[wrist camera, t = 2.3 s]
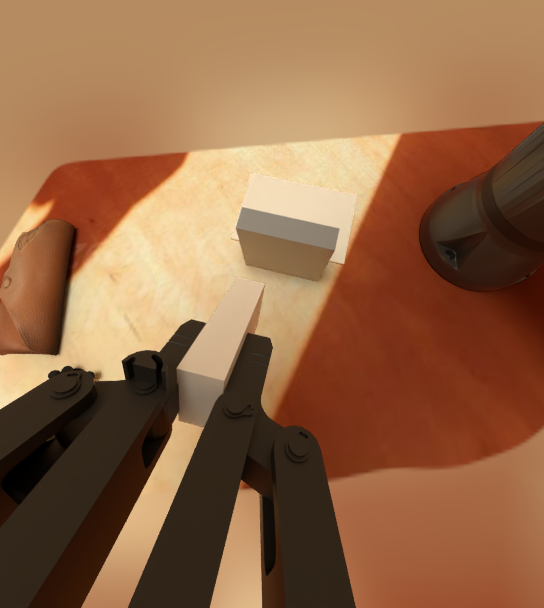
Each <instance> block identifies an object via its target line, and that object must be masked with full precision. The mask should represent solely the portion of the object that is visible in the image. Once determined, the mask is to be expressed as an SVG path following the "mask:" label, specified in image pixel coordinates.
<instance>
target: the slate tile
mask: <svg viewBox="0 0 544 608" xmlns="http://www.w3.org/2000/svg"><path fill="white" fill-rule="evenodd" d="M339 229H340V228H335V227H331V226H326V225H322V224H317V223H312V222H308V221H303V220H299V219H294V218H290V217H285V216H281V215H276V214H272V213H267V212H263V211H258V210H254V209H249V208H245V207H242V209H241V212H240V216H239V219H238V222H237V225H236V231H237V234H238V238H239V241H240V245H241V248H242V252H243V255H244V259H245V263H246V265H249V266H253V267H257V268H261V269H266V270H270V271H274V272H279V273H283V274H287V275H291V276H296V277H300V278H304V279H309V280H313V281H318V279H319V278H320V276H321V274H322V272H323V271H324V269H325V267H326V265H327V264H328V262H329V260H330V258H331V257H332V255H333V253H334V251H335V248H336V243H337V239H338V234H339Z"/></svg>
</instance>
